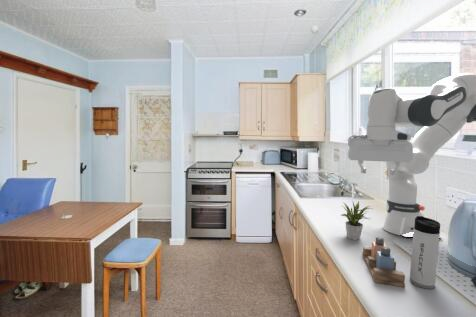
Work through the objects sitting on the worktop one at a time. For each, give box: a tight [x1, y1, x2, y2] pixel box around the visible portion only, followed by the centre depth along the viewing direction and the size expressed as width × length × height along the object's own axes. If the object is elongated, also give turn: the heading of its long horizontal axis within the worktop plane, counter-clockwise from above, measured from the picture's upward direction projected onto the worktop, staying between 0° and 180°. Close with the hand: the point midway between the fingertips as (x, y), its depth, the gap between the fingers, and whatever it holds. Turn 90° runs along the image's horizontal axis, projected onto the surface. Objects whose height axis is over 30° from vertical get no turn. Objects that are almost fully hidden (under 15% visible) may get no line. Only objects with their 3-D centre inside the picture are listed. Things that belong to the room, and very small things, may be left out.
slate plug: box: [376, 246, 395, 270], centre depth 81 cm, size 4×4×8 cm
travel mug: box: [409, 216, 441, 290], centre depth 77 cm, size 6×7×20 cm
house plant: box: [340, 200, 374, 241], centre depth 110 cm, size 14×14×16 cm
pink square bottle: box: [371, 236, 388, 257], centre depth 89 cm, size 4×4×8 cm
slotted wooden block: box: [362, 246, 406, 288], centre depth 86 cm, size 8×19×4 cm, turn 164°
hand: (377, 173), depth 91 cm, fingers open, 8 cm apart
